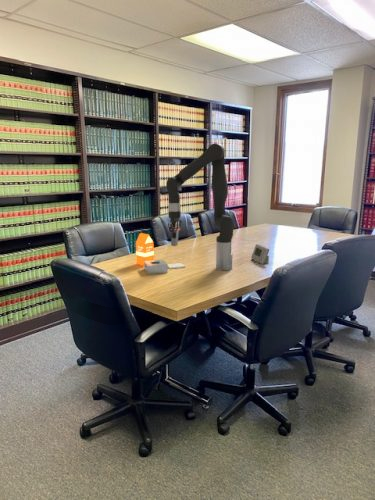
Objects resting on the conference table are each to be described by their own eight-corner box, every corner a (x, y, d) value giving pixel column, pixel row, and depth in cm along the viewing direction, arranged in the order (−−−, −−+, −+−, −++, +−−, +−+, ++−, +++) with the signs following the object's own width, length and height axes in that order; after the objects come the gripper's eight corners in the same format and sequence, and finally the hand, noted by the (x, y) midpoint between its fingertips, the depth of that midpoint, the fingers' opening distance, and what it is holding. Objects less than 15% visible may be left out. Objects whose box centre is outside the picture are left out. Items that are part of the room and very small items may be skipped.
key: (178, 245, 232) (180, 228, 229) (175, 246, 228) (177, 229, 225) (173, 243, 234) (174, 226, 231) (169, 245, 230) (171, 227, 227)
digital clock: (250, 258, 252) (251, 243, 249) (263, 258, 253) (264, 243, 250) (256, 265, 236) (257, 249, 234) (270, 264, 237) (271, 248, 234)
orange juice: (145, 266, 236) (144, 235, 231) (136, 263, 241) (135, 233, 237) (154, 263, 241) (153, 233, 237) (145, 261, 247) (144, 232, 242)
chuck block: (163, 267, 233) (162, 259, 232) (167, 272, 222) (167, 264, 220) (144, 268, 229) (144, 261, 228) (148, 274, 218) (147, 266, 217)
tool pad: (181, 264, 239) (181, 263, 239) (185, 267, 232) (184, 266, 232) (166, 265, 236) (166, 264, 236) (169, 268, 229) (169, 267, 229)
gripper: (174, 211, 218) (175, 240, 222) (185, 209, 230) (185, 236, 234) (163, 211, 221) (164, 239, 225) (174, 208, 233) (175, 235, 237)
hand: (175, 237), depth 230 cm, fingers closed on key, 3 cm apart
